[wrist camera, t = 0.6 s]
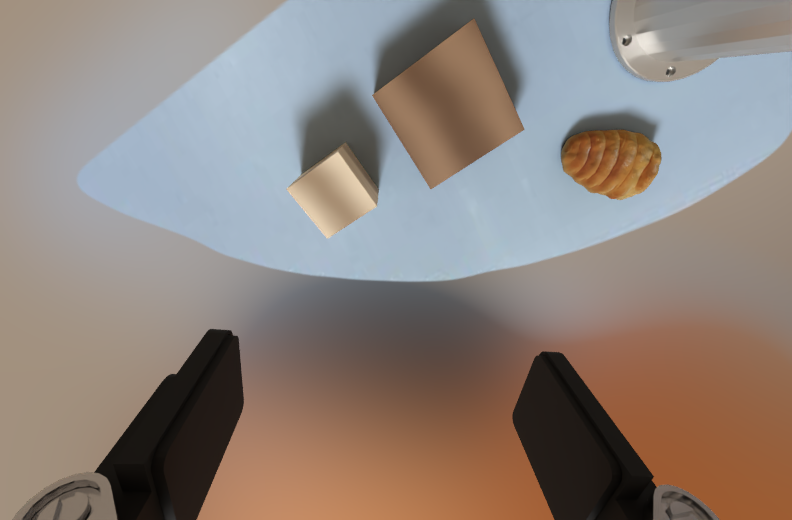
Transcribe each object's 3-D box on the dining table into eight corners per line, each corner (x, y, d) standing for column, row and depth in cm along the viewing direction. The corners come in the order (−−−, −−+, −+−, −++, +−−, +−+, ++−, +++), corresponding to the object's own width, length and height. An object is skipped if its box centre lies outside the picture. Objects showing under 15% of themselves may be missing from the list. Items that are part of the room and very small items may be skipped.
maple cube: (345, 142, 35) (337, 151, 29) (378, 189, 37) (377, 206, 32) (301, 174, 36) (286, 189, 31) (335, 217, 39) (327, 238, 33)
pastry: (544, 178, 37) (560, 187, 34) (573, 114, 34) (594, 116, 31) (619, 198, 38) (642, 209, 35) (653, 138, 35) (682, 143, 32)
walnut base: (464, 26, 30) (474, 18, 27) (510, 125, 34) (524, 129, 31) (373, 94, 33) (372, 95, 29) (426, 179, 37) (430, 189, 33)
